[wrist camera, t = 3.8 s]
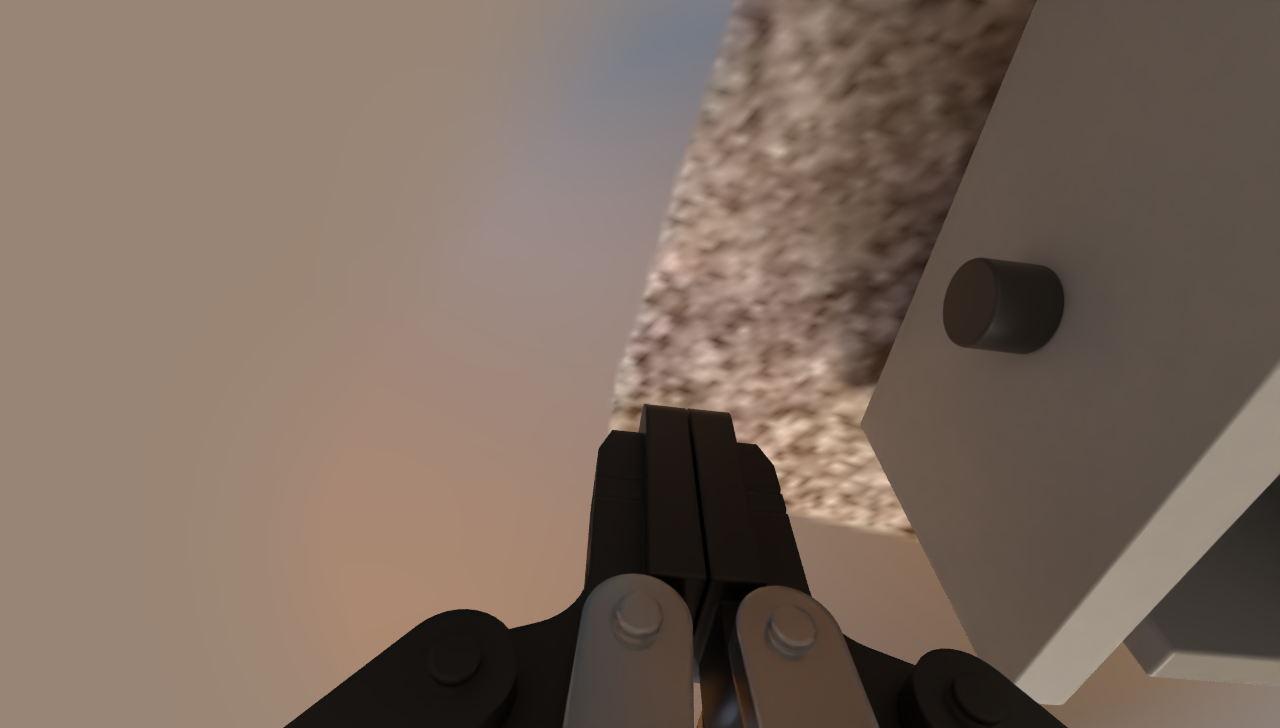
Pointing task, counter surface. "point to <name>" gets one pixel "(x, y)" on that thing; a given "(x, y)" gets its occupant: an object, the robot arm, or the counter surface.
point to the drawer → (1106, 353)
